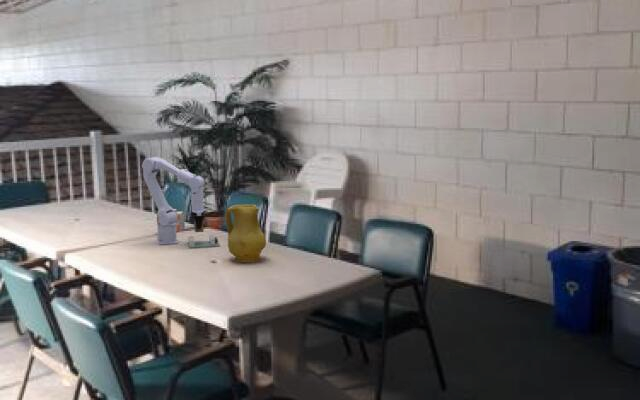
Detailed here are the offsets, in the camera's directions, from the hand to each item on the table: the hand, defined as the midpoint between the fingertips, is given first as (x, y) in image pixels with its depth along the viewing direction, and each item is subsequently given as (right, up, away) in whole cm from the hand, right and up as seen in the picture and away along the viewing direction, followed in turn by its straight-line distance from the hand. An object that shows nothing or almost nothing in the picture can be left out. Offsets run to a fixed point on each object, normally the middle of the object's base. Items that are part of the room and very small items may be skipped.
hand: (198, 227), depth 325 cm
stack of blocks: (-21, -4, +34) cm, 40 cm away
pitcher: (+27, -13, -28) cm, 41 cm away
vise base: (+3, -9, 0) cm, 9 cm away
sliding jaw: (+7, -8, +1) cm, 11 cm away
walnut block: (0, -2, 0) cm, 2 cm away
